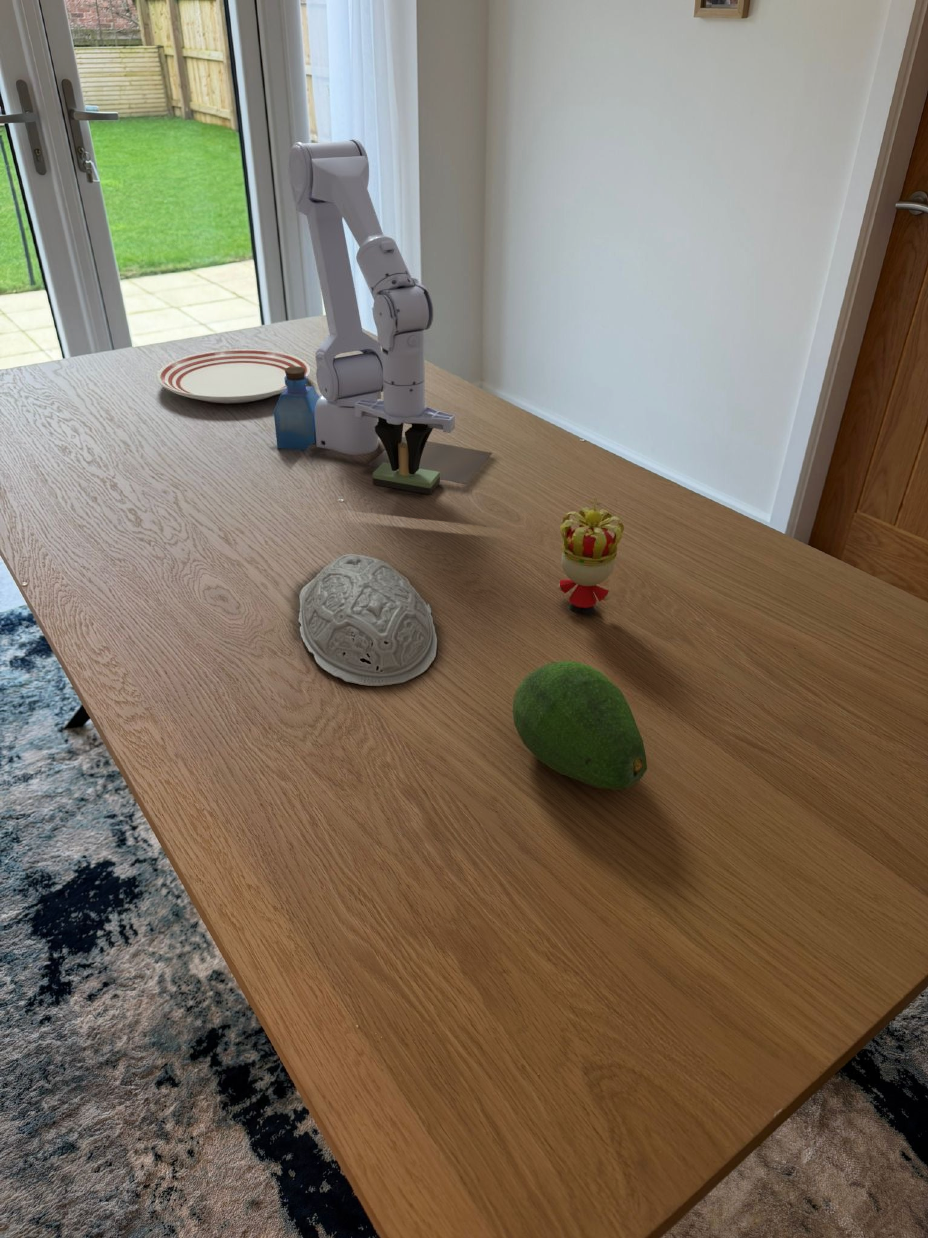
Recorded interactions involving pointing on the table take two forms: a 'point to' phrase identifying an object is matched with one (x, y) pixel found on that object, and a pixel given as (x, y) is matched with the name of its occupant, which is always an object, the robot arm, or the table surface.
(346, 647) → the grey turtle shell
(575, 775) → the fruit
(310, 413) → the perfume bottle
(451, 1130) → the table surface
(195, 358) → the dinner plate
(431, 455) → the tray
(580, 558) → the toy
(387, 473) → the brush
